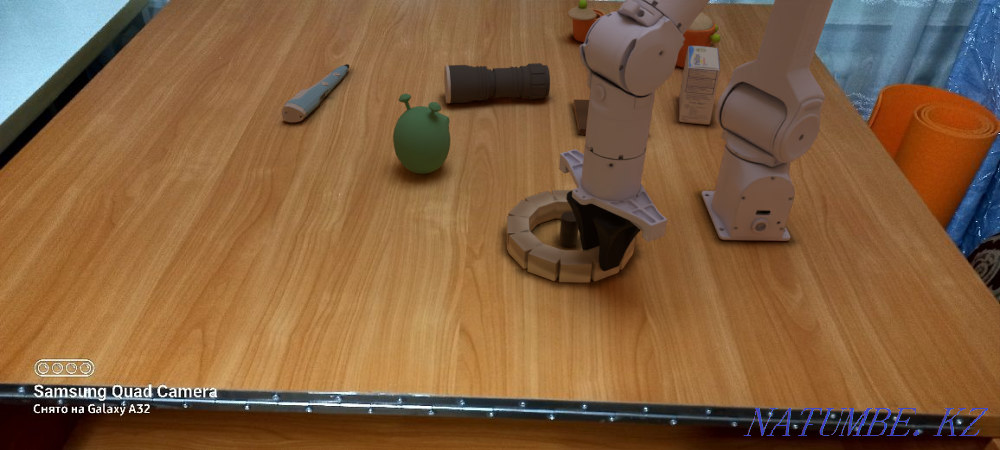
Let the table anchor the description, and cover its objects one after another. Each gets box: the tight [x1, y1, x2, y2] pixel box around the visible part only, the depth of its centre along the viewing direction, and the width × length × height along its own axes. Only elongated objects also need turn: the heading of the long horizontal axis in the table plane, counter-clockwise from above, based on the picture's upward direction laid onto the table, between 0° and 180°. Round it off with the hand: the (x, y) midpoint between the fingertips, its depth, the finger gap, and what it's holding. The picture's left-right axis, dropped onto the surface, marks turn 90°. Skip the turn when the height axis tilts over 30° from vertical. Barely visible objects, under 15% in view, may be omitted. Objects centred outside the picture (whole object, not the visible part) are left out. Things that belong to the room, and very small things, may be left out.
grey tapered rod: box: [281, 63, 350, 123], centre depth 109 cm, size 19×3×3 cm, turn 166°
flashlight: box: [443, 62, 551, 104], centre depth 109 cm, size 15×5×5 cm, turn 99°
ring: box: [505, 189, 637, 283], centre depth 81 cm, size 14×14×2 cm
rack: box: [572, 99, 589, 136], centre depth 104 cm, size 9×9×6 cm
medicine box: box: [678, 46, 721, 126], centre depth 106 cm, size 8×4×9 cm, turn 168°
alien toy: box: [392, 93, 451, 175], centre depth 91 cm, size 7×8×10 cm
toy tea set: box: [566, 0, 722, 69], centre depth 124 cm, size 26×16×10 cm, turn 84°
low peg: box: [558, 211, 579, 248], centre depth 81 cm, size 2×2×4 cm
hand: (600, 258), depth 77 cm, fingers closed on ring, 2 cm apart
